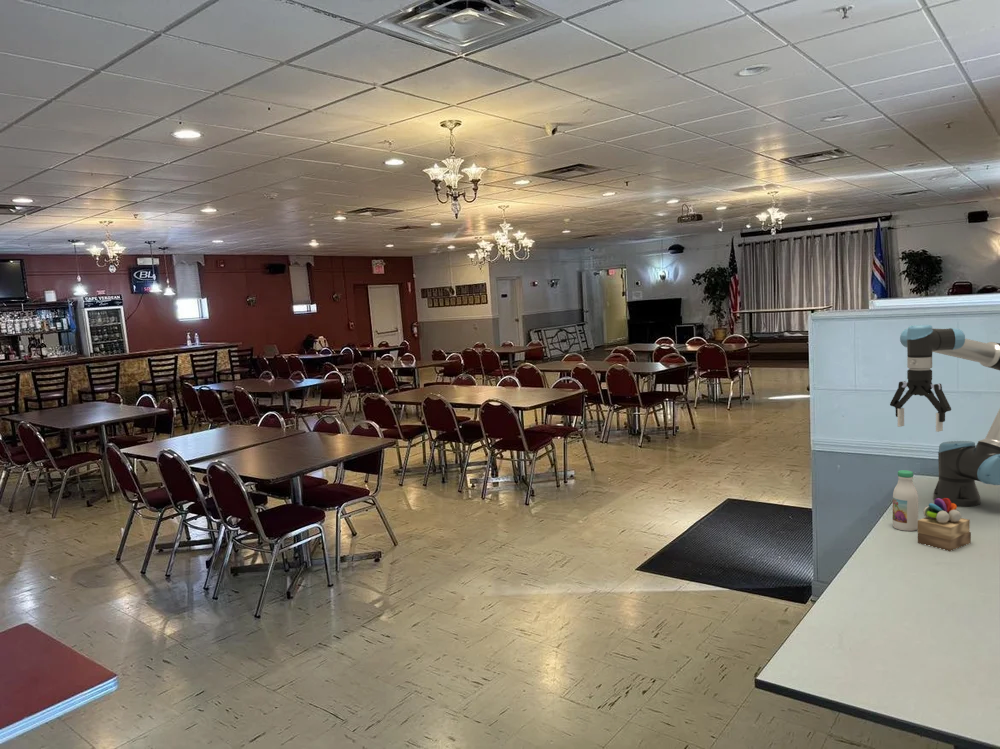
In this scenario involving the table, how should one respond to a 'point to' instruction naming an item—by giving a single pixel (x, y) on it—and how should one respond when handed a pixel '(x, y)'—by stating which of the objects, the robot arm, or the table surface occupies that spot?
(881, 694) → the table surface
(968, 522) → the tower top
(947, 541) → the tower base
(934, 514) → the multicoloured petal toy
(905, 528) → the milk bottle
